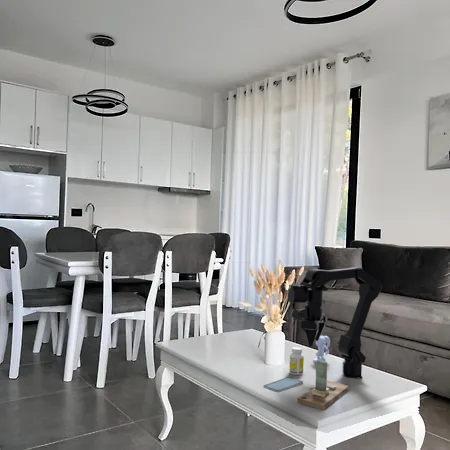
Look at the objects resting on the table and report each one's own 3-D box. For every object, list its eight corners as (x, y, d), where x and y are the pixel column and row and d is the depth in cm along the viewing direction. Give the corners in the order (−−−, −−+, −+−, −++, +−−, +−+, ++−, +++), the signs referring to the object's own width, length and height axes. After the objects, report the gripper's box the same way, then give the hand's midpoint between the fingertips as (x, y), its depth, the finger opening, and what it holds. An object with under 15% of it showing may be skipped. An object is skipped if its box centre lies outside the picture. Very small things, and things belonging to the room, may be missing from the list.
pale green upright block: (313, 388, 158) (314, 358, 158) (329, 392, 155) (330, 361, 155) (307, 392, 154) (308, 361, 154) (323, 397, 151) (324, 365, 151)
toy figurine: (320, 359, 202) (321, 331, 202) (331, 363, 196) (332, 335, 196) (309, 361, 198) (310, 333, 198) (319, 365, 193) (320, 336, 193)
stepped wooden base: (325, 384, 169) (325, 377, 169) (348, 389, 164) (349, 383, 164) (297, 402, 149) (297, 395, 149) (323, 409, 144) (323, 402, 144)
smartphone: (262, 385, 164) (288, 376, 174) (262, 388, 164) (288, 379, 174) (278, 391, 158) (304, 381, 169) (278, 394, 158) (304, 384, 169)
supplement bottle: (301, 371, 183) (302, 346, 183) (304, 375, 178) (305, 350, 178) (288, 370, 183) (289, 346, 183) (290, 375, 178) (291, 349, 178)
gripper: (300, 297, 187) (299, 335, 187) (287, 304, 170) (286, 346, 170) (328, 299, 182) (327, 339, 182) (316, 306, 165) (315, 350, 165)
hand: (313, 343), depth 175 cm, fingers open, 9 cm apart
